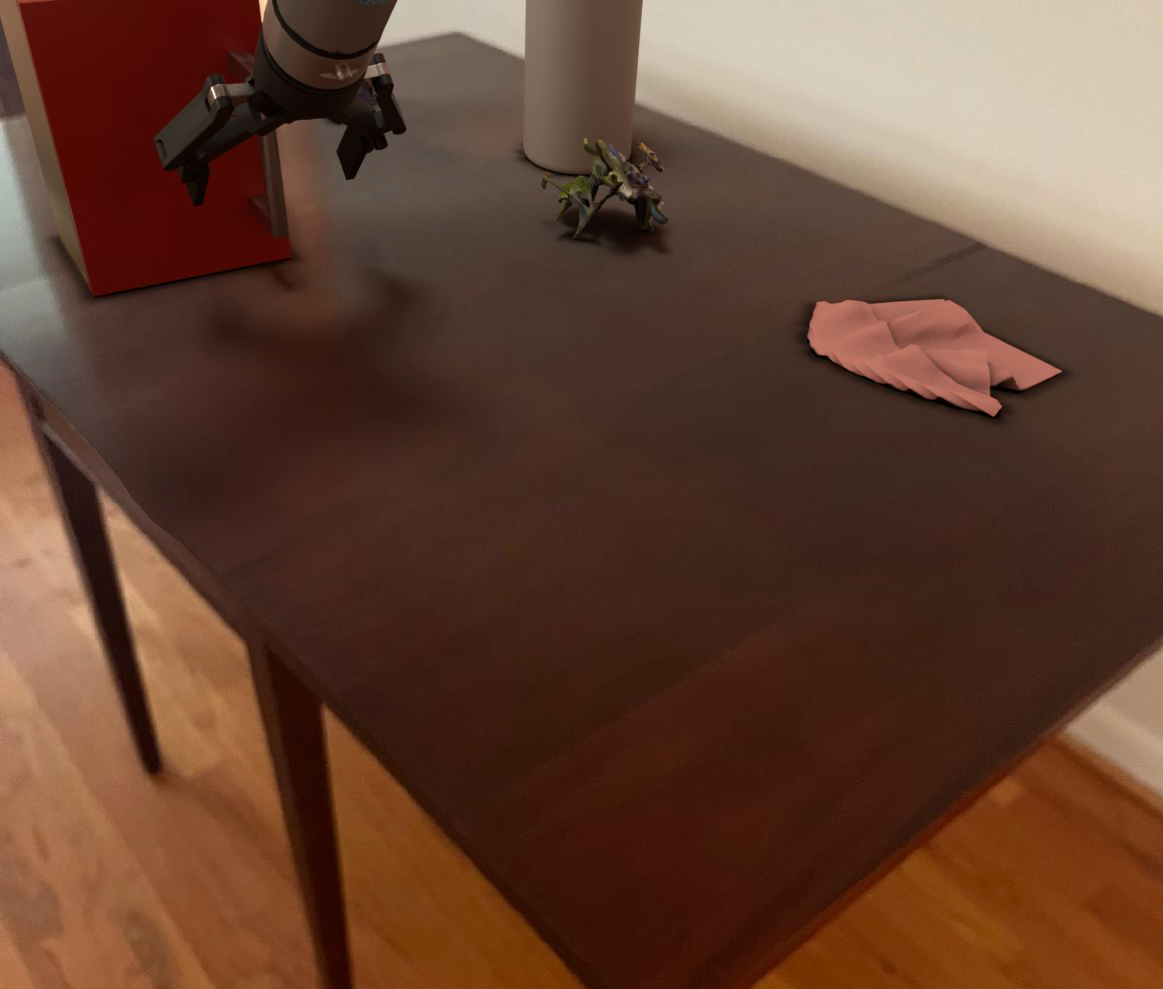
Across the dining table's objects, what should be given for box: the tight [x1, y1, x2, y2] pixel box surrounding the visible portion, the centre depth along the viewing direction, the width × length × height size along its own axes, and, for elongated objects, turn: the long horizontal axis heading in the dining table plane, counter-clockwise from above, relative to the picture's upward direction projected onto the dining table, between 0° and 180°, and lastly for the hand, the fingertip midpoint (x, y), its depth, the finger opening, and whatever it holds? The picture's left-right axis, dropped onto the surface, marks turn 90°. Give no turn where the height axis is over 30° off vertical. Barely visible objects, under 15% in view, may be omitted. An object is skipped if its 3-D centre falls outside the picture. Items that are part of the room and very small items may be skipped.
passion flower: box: [540, 138, 670, 240], centre depth 114 cm, size 11×11×12 cm
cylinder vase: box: [522, 0, 644, 175], centre depth 123 cm, size 12×12×25 cm
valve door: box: [16, 0, 293, 297], centre depth 95 cm, size 7×18×24 cm, turn 121°
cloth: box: [806, 298, 1063, 417], centre depth 100 cm, size 20×22×2 cm
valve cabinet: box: [0, 0, 92, 293], centre depth 101 cm, size 12×18×24 cm, turn 121°
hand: (271, 177), depth 98 cm, fingers open, 13 cm apart
